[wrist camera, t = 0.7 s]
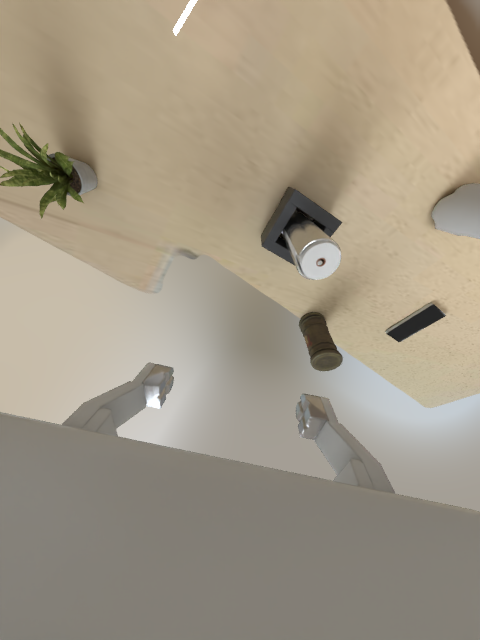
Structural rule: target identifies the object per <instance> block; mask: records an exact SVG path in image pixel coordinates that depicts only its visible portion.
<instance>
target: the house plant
mask: <svg viewBox="0 0 480 640" xmlns="http://www.w3.org/2000/svg"><path fill="white" fill-rule="evenodd" d="M19 124H20V123H19ZM13 126H14V124H13ZM20 126H21V124H20ZM14 129H15V131H16V133H17V135H18V137H19V138H20V139H21V141H22V142H23V143H24V145H25V147H26V148H27V149H28V150H29V151H30V152H31V153H32V154H33V155H34V156H35V157H36V158H37V159H38V160H37V159H36V158H34V157H32V156H31V155H30V154H28V153H27V152H26V151H24V150H23V149H22V148H21V147H19V146H18V145H17V144H16V143H15V142H14V141H13V140H12V139H11V138H10V137H9V136H8V135H7V134H6V133H5V132H4V131H3V130H2V129H1V128H0V134H1V136H2V137H3V138H4V139H5V140H6V141H7V142H8V143H9V144H10V145H11V146H12V147H13V148H14V149H16V150H17V151H18V152H20V153H21V154H23V155H24V156H26V157H28V158H29V159H31V160H33V161H34V162H36V163H38V164H36V163H33V162H30V161H28V160H25V159H23V158H20V157H18V156H15V155H13V154H10V153H8V152H5V151H3V150H0V156H1V157H3V158H6V159H8V160H10V161H12V162H14V163H16V164H17V165H19V166H21V167H22V168H23V169H19V170H13V171H9V170H7V169H5V168H3V167H1V166H0V167H1V168H3V169H4V170H6V171H7V173H5V174H3V175H2V176H1V177H0V178H3V177H10V176H14V177H12V178H11V179H9V180H6V181H3V182H1V184H0V185H2V186H40V185H48V184H53V183H54V184H53V186H52V187H51V188H50V190H48V191H47V192H46V193H45V194H44V196H43V197H42V199H41V201H40V216H41V219H42V217H43V214H44V212H45V209H46V207H47V206H48V204H49V203H51V202H53V201H56V200H57V203H58V204H59V205H60V206H61V207H62V209H63V210H64V208H65V207H66V195H70V196H72V197H73V198H74V199H75V200H77V201H80V202H82V203H84V202H83V201H82V199H81V197H80V196H79V195H81V194H83V193H86V192H88V191H90V190H93V189H95V188H96V187H97V176H96V174H95V172H94V171H93V169H92V168H91V167H90V166H89V165H88V164H86V163H84V162H81V161H78V160H75V159H72V158H71V157H68V156H66V155H64V154H62V153H60V152H56V153H55V154H50V155H49V156H48V155H47V154H46V152H47V150H48V144H49V143H48V144H46V145H45V146H44V147H43V148H42V149H41V148H39V146H38V145H37V144H36V143H35V142H34V141H33V140H32V139H31V138H30V137H29V136H28V135H27V133H26V132H25V130H24V128H23V127H22V126H21V129H22V131H23V133H24V135H23V137H22V136H21V135H20V134H19V132H18V130H17V129H16V127H15V126H14ZM31 144H32V145H33V146H34V147H35V148H36V149H37V150H38V151H39V152H40V154H39V153H38V152H37V151H36V150H35V149H34V148H33V146H32V145H31ZM55 195H56V196H55ZM54 196H55V197H54Z"/></svg>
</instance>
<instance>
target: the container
mask: <svg viewBox="0 0 480 640" xmlns="http://www.w3.org/2000/svg"><path fill="white" fill-rule="evenodd" d="M299 327H300V329H301V332H302V333H303V336H304V338H305V341H306V344H307V347H308V351H309V355H310V356H311V358H310V359H311V365H312V367H313V368H314V369H316V370H319V371H329V370H333V369H335V368H337V367H338V366H340V364H341V363H342V355H341V354H340V353H339V352H338V351H337V348H336V345H335V344H334V342H333V340H332V338H331V336H330V333H329V331H328V327H327V326H326V321H325V318H324V316H323V315H321V314H320V313H317V312H311V313H308V314H306V315H304V316H303V317H302V318H301V320H300V322H299Z"/></svg>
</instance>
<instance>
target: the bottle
mask: <svg viewBox="0 0 480 640" xmlns="http://www.w3.org/2000/svg"><path fill="white" fill-rule="evenodd" d="M432 218H433V220H434V222H435V229H438V230H441V231H445V232H448V233H451V234H454V235H458V236H469V237H473V238H477V239H480V184H475V183H472V184H466V185H462V186H461V187H459V188H458V189H456V190H455V192H454V193H453V194H451V195H449V196H447V197H445V198H443V199H441V200H440V201H439V202H438V203H437V204H436V206H435V207H434V209H433V212H432Z"/></svg>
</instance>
